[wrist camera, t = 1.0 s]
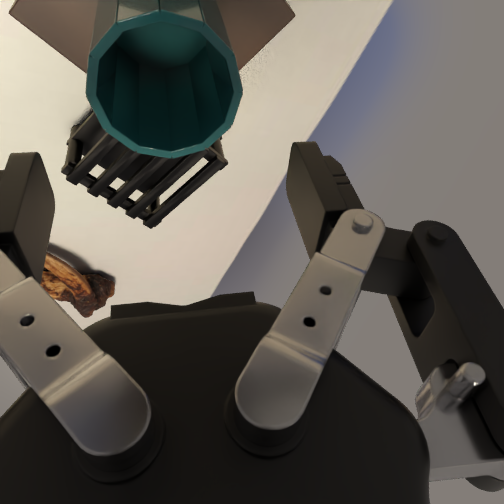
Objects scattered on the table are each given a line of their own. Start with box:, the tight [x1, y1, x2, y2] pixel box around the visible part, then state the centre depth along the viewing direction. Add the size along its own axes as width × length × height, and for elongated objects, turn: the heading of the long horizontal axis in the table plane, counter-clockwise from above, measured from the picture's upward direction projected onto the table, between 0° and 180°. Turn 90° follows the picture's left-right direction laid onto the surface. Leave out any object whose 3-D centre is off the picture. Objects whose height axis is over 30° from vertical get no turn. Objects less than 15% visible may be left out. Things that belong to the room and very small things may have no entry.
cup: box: [86, 0, 243, 159], centre depth 21 cm, size 6×6×9 cm
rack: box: [61, 112, 228, 229], centre depth 40 cm, size 10×10×7 cm
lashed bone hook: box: [40, 252, 115, 318], centre depth 51 cm, size 9×5×18 cm
